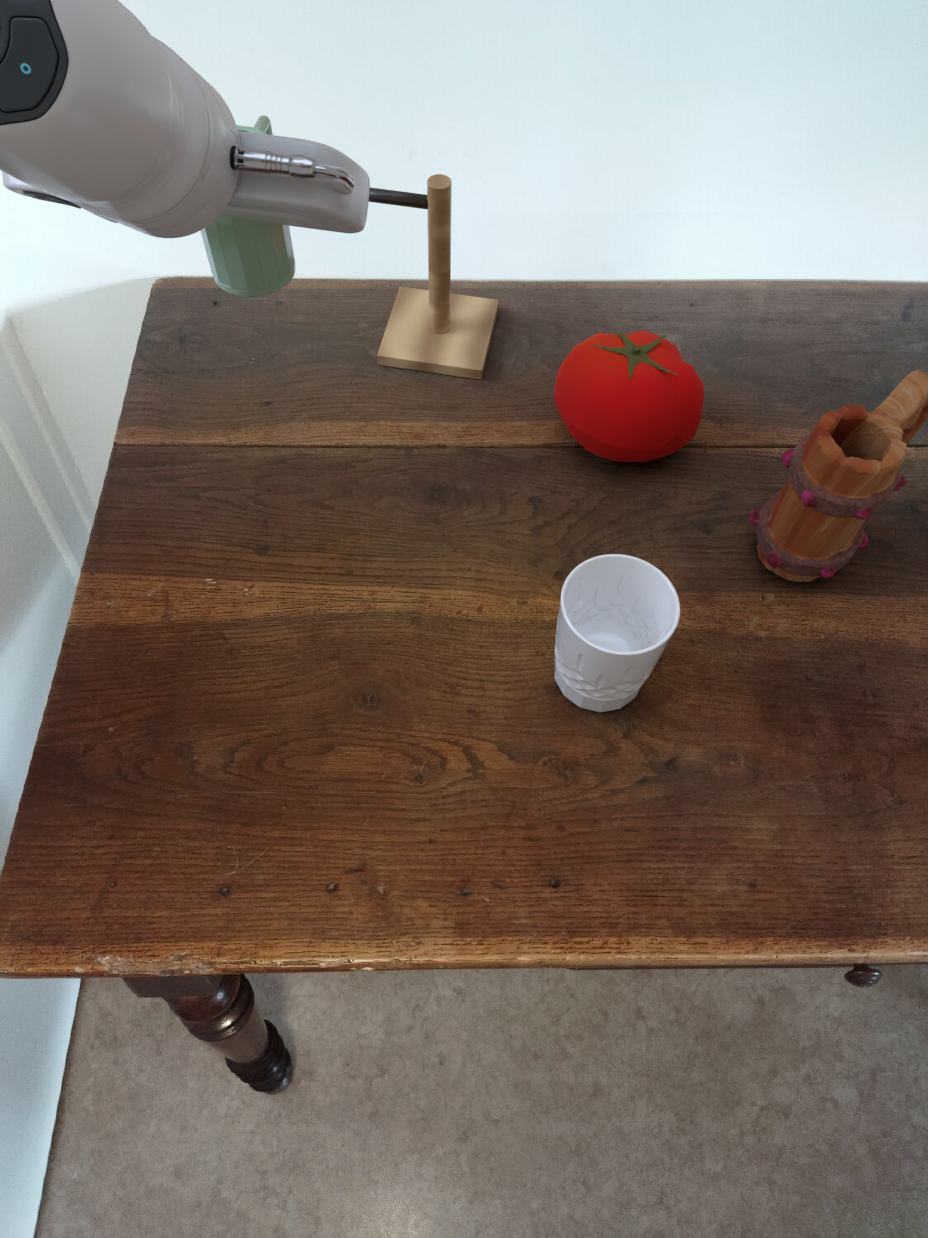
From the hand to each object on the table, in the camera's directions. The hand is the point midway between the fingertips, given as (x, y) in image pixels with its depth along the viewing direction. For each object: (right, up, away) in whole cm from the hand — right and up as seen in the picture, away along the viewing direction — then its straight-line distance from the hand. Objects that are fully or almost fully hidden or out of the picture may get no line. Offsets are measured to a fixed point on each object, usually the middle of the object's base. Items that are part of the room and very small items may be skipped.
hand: (243, 203), depth 61 cm
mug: (+44, -22, +13) cm, 51 cm away
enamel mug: (0, -1, +5) cm, 5 cm away
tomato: (+29, -12, +19) cm, 37 cm away
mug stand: (+10, -1, +25) cm, 27 cm away
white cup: (+25, -33, +6) cm, 42 cm away
